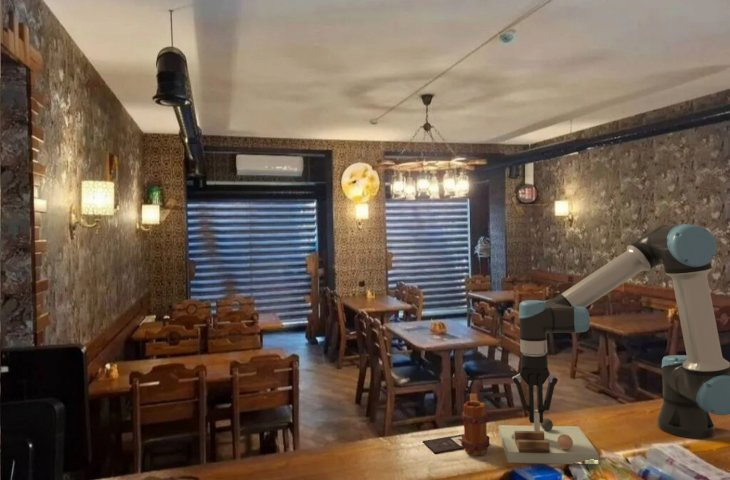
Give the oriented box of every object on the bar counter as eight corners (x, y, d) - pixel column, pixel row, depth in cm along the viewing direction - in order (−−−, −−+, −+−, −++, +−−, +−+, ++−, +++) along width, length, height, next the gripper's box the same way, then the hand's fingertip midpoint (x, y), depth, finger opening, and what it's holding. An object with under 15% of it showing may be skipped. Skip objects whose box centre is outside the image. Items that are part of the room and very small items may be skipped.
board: (578, 436, 158) (578, 426, 158) (599, 464, 138) (598, 453, 138) (498, 434, 161) (498, 425, 161) (507, 462, 141) (507, 451, 141)
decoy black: (551, 428, 157) (551, 416, 157) (554, 432, 154) (553, 420, 154) (539, 427, 158) (539, 416, 158) (542, 432, 154) (541, 420, 154)
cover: (543, 441, 147) (543, 431, 147) (549, 453, 139) (549, 442, 139) (514, 441, 148) (514, 430, 148) (519, 452, 140) (518, 441, 140)
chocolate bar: (422, 440, 157) (474, 432, 163) (422, 443, 157) (474, 435, 163) (434, 452, 149) (489, 442, 154) (434, 455, 149) (489, 446, 154)
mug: (491, 459, 143) (489, 406, 143) (461, 458, 145) (459, 405, 145) (489, 439, 158) (487, 391, 158) (462, 438, 159) (460, 390, 159)
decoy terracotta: (571, 446, 143) (570, 432, 143) (574, 452, 139) (574, 437, 139) (556, 446, 144) (555, 432, 144) (559, 452, 140) (559, 437, 140)
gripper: (553, 350, 153) (556, 429, 153) (509, 350, 154) (511, 428, 155) (559, 356, 145) (562, 439, 145) (512, 356, 147) (515, 438, 147)
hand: (536, 433), depth 150 cm, fingers closed
